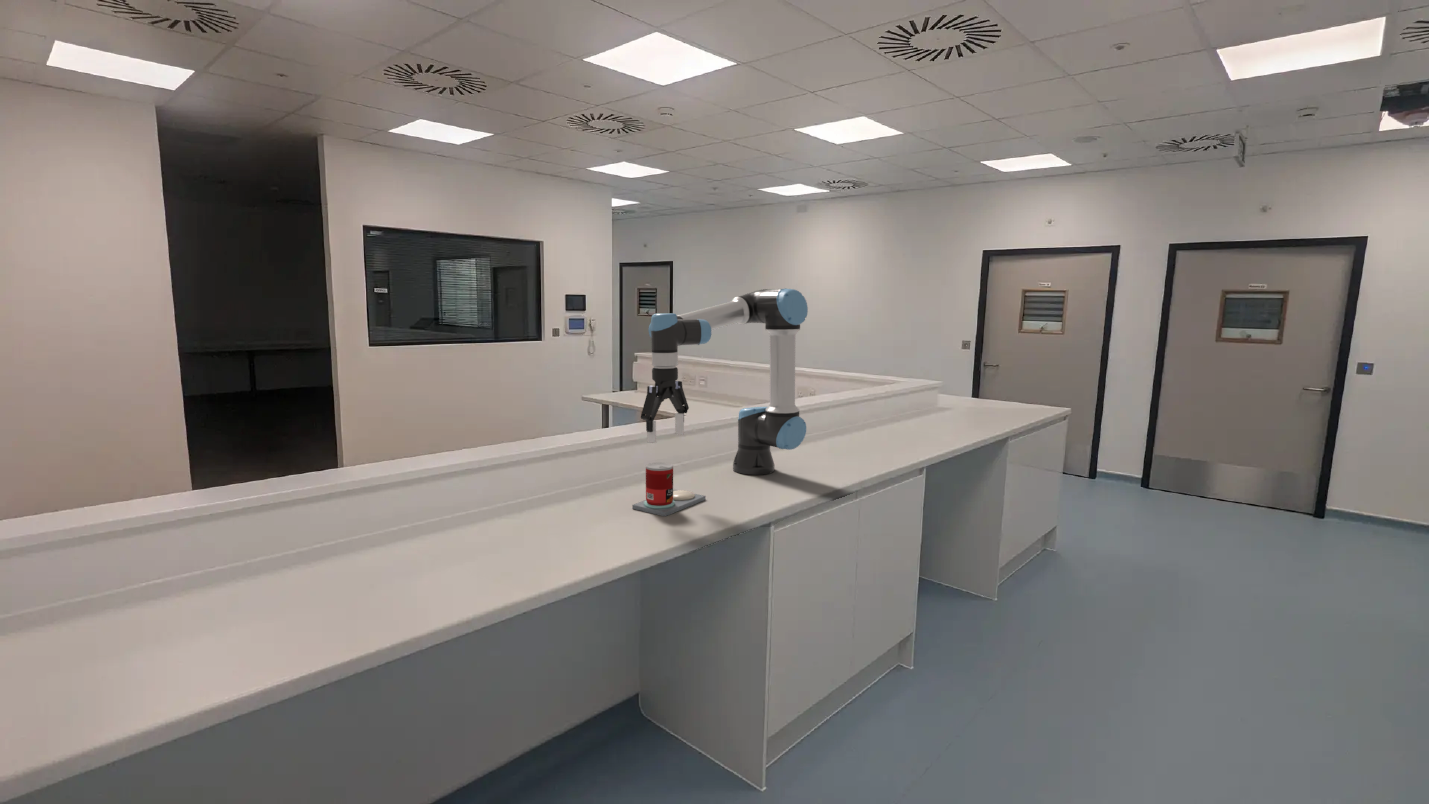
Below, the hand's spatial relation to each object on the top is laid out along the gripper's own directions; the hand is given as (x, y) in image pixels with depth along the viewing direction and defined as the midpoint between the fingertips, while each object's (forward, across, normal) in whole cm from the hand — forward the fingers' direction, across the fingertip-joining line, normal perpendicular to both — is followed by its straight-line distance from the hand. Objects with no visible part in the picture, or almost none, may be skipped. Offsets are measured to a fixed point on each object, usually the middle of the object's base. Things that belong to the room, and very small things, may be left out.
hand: (666, 438), depth 192 cm
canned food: (+18, +6, +2) cm, 19 cm away
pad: (+18, +6, +1) cm, 19 cm away
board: (+20, +1, +2) cm, 20 cm away
